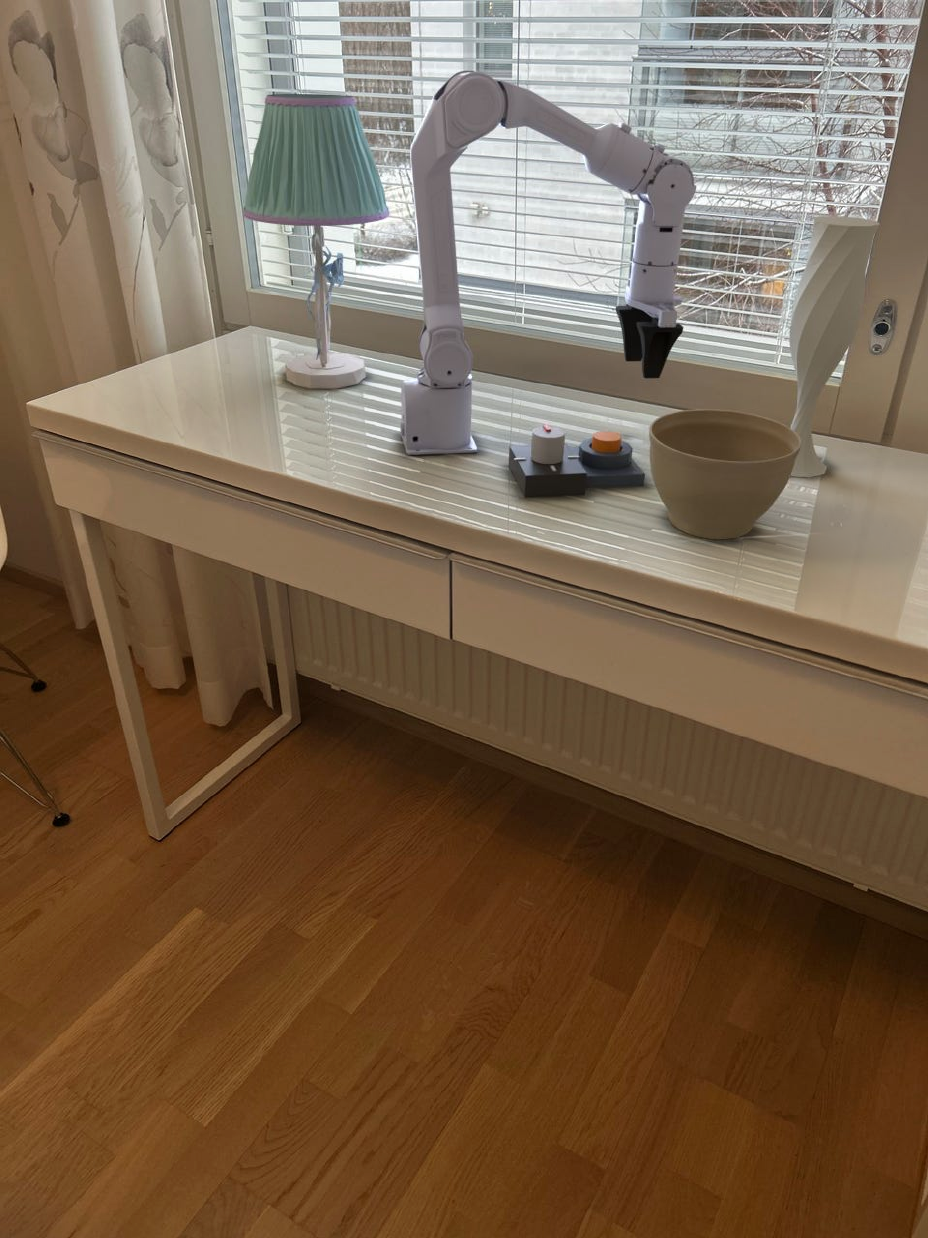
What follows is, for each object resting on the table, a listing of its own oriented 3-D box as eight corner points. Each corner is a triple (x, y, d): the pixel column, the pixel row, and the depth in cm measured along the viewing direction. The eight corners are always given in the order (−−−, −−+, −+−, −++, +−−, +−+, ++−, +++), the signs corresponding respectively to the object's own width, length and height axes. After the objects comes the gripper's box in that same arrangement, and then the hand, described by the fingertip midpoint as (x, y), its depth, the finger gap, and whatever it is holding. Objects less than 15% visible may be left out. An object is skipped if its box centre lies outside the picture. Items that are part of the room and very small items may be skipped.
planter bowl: (634, 490, 115) (645, 405, 110) (768, 498, 114) (786, 412, 109) (642, 550, 102) (655, 455, 96) (794, 559, 101) (816, 464, 95)
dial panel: (587, 495, 114) (589, 471, 112) (521, 498, 113) (522, 474, 111) (567, 464, 122) (569, 441, 121) (505, 467, 121) (506, 444, 120)
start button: (623, 453, 117) (625, 440, 117) (595, 454, 117) (597, 441, 116) (615, 443, 120) (616, 430, 120) (588, 444, 120) (589, 431, 119)
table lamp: (387, 399, 143) (380, 101, 123) (245, 396, 143) (214, 97, 123) (397, 359, 162) (393, 94, 141) (272, 356, 162) (249, 90, 141)
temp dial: (566, 463, 115) (569, 434, 113) (534, 464, 114) (536, 435, 112) (558, 451, 118) (561, 423, 116) (527, 452, 117) (529, 424, 115)
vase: (791, 481, 119) (846, 228, 104) (746, 458, 125) (791, 217, 110) (841, 470, 123) (901, 224, 107) (794, 448, 129) (845, 213, 113)
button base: (643, 486, 117) (647, 460, 115) (585, 489, 116) (587, 462, 114) (620, 456, 125) (622, 431, 123) (565, 458, 124) (567, 433, 122)
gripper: (706, 273, 113) (690, 384, 120) (665, 251, 125) (652, 353, 132) (650, 273, 112) (637, 385, 119) (614, 251, 124) (604, 354, 131)
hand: (641, 368), depth 125 cm, fingers open, 7 cm apart
